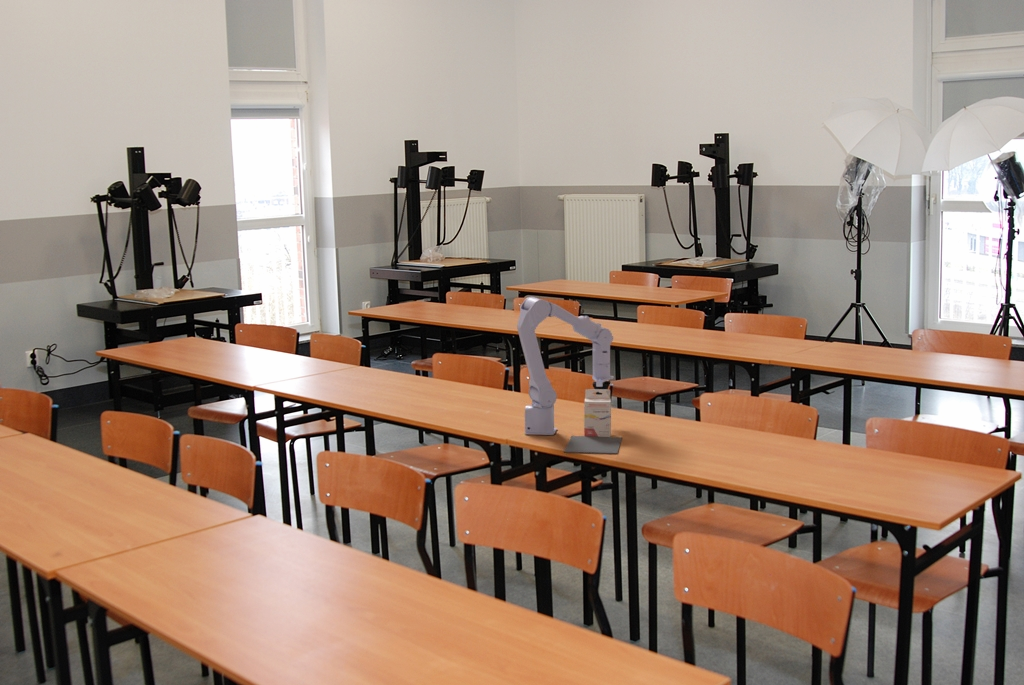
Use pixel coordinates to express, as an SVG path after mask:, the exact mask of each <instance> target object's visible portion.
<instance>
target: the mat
mask: <svg viewBox="0 0 1024 685" xmlns="http://www.w3.org/2000/svg"><path fill="white" fill-rule="evenodd" d="M622 440H623V437H621V436H611V437H596V436H584V435H571V436H570V438H569V441H568V442H567V445H566V446H565V449H564V450H563V454H564V453H566V454H567V453H569V454H595V455H597V454H600V455H618V454H619V450H620V447H621V442H622Z"/></svg>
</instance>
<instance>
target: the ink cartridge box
mask: <svg viewBox="0 0 1024 685" xmlns="http://www.w3.org/2000/svg"><path fill="white" fill-rule="evenodd" d="M584 392H585V393H584V394H585V396H584V403H583V404H584V407H583V410H584V411H583V412H584V416H583V417H584V418H583V419H584V420H583V421H584V422H583V424H584V425H583V426H584V429H583V432H584V434H583V436H596V437H612V436H611V435H612V398H611V389H609V388H608V389H594V388H593V389H592V388H590V389H588V388H586V389H585V391H584ZM597 392H599V393H602V395H596V393H597Z"/></svg>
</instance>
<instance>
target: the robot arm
mask: <svg viewBox="0 0 1024 685" xmlns="http://www.w3.org/2000/svg"><path fill="white" fill-rule="evenodd" d="M519 309H520V311H519V312H520V313H519V316H518V321H517V326H516V328H517V332H518V336H519V341H520V344H521V345H520V346H521V348H522V352H523V356H524V359H525V364H526V366H527V369H528V375H529V381H528V386H529V389H528V396H529V398H530V400H531V404H530V405H528V404H527V405H525V408H524V435H536V436H537V435H539V436H541V435H543V436H554V435H555V433H556V432H557V430H558V427H555V403H556V401H557V398H558V395H557V392H556V390H555V389H554V388H553V386H552V382H550V380H549V378H548V376H547V373H546V369H545V365H544V361H543V358H542V355H541V354H542V352H541V350H540V346H539V341H538V338H537V334H536V329H537V327H538V326H539V325H540V323H542V322H543V321H545V319H547V318H548V317H549V318H552V317H553V318H554V317H556V319H560V320H561V321H563V322H565V323H567V324H569V325H571V326H572V329H573V332H575V333H577V334H579V335H581V336H582V337H585V338H586V339H588V340H590V341H591V343H592V378H591V379H592V380H593V382H592V387H593V389H609V387H610V385H611V381H610V380H614V378H615V376H614V375H611V344H612V342H613V340H614V335H613V333H612V331H611V330H610V329H608V328H605V327H602V324H601V323H600V322H595V321H593V320H592V319H591V317H589V316H588V315H580V316H576V315H574V314H573V313H571V312H570V311H568V310H566V309H565V308H563V307H561V306H560V305H558V304H556V303H553V302H551V301H548V300H547V299H543V298H538V297H536V296H528V297H526V298H525V299H524V300H523V302H522V303H521V304H520V305H519ZM595 395H602V393H599V392H597V393H595Z"/></svg>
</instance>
